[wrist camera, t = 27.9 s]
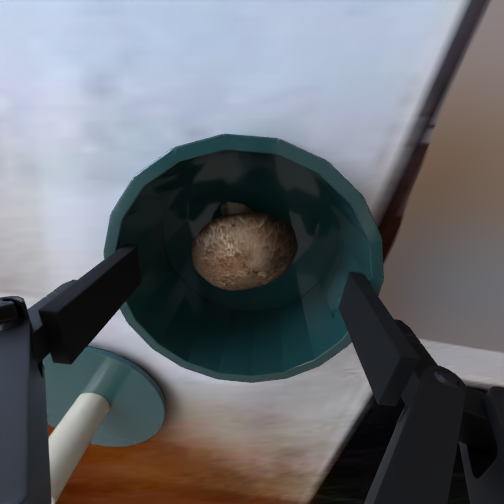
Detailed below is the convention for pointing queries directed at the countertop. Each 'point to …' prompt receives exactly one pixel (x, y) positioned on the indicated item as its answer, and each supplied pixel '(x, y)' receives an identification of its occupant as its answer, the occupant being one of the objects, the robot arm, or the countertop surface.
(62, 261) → the countertop surface
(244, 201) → the pot
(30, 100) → the countertop surface
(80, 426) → the lid
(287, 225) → the mushroom
